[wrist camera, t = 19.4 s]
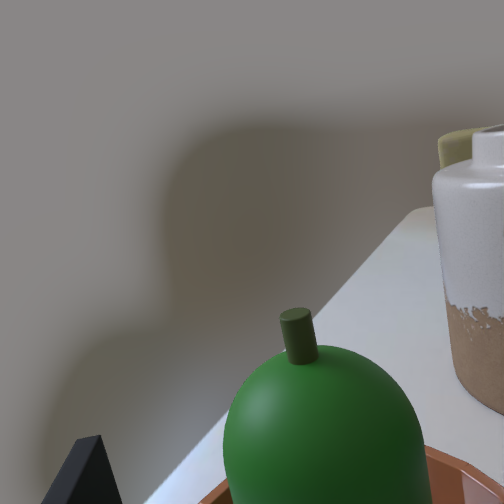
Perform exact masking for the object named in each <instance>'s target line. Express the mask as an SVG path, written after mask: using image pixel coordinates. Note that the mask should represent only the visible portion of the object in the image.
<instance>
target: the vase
mask: <svg viewBox="0 0 504 504" xmlns="http://www.w3.org/2000/svg"><path fill="white" fill-rule="evenodd" d="M432 193H433V204H434V212H435V220H436V228H437V236H438V245H439V253H440V261H441V269H442V277H443V285H444V293H445V302H446V310H447V318H448V326H449V334H450V342H451V350H452V358H453V364H454V368H455V372H456V375H457V377H458V379H459V380H460V382H461V384H462V385H463V386H464V388H465V389H466V390H467V391H468V392H469V393H470V394H471V395H472V396H473V397H474V398H476V399H477V400H478V401H480V402H481V403H483V404H484V405H486V406H487V407H489V408H491V409H493V410H494V411H496V412H498V413H500V414H503V415H504V124H501V125H497V126H493V127H489V128H485V129H482V130H479V131H477V132H475V133H473V135H472V159H469V160H465V161H462V162H459V163H455V164H453V165H450V166H447V167H445V168H443V169H441V170H440V171H438V172H437V173H436V174H435V175H434V177H433V181H432Z"/></svg>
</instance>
